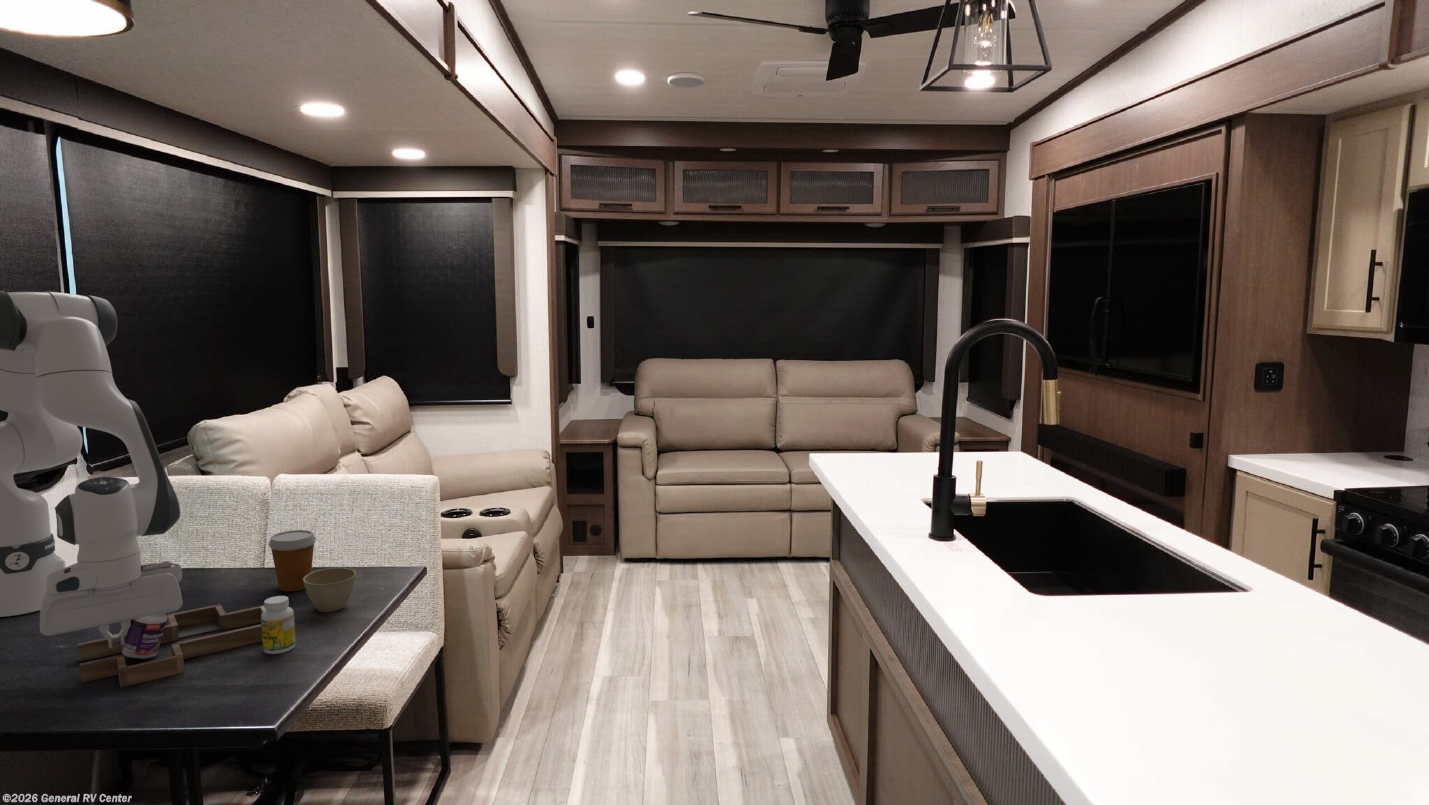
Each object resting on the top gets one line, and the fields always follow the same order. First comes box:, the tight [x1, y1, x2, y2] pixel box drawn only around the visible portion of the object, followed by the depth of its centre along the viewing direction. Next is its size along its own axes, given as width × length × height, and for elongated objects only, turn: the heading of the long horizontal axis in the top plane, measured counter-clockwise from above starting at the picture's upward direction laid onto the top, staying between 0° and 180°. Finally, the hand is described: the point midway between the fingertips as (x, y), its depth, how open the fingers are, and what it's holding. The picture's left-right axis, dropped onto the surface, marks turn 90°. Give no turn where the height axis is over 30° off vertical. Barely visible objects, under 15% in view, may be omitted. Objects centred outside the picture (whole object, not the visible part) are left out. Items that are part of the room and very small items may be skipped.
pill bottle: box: [121, 605, 168, 660], centre depth 145 cm, size 5×5×10 cm
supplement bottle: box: [260, 595, 296, 655], centre depth 149 cm, size 5×5×10 cm
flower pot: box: [303, 567, 357, 613], centre depth 169 cm, size 10×10×7 cm
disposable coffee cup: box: [267, 529, 317, 592], centre depth 180 cm, size 10×10×12 cm
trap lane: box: [77, 603, 266, 688], centre depth 149 cm, size 23×30×3 cm
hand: (116, 645), depth 142 cm, fingers closed
